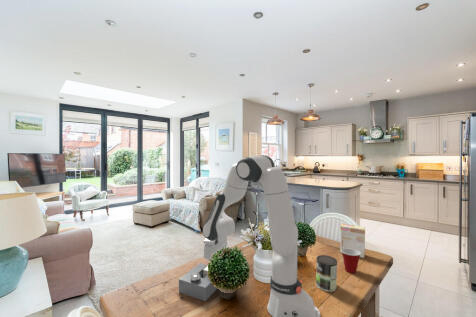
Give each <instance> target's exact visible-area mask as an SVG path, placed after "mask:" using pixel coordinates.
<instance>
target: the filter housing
mask: <svg viewBox="0 0 476 317" xmlns="http://www.w3.org/2000/svg"><path fill="white" fill-rule="evenodd" d="M207 266H208V265H207V264H204V263H201V262H199V263H198V264H197V265H196V266H194V267H193V268H191V269H190V270H189V271H188V272H187V273H185V274H183V276H181V277H180V278H178V292H179V293H181V294H183V295H186V296H188V297H191V298H195V299H197V300H200V301H202V300H203V302H206V301H207V300H208V299H209V298H210V297H211V296H212V295H213V294H214V293H215V292H216V291H217V289H216V287H214V286H213V285H212V283H211V281H210V280H209V278H208V275H207V276H206V277H205V278H203V269H204V268H206V267H207ZM193 273H199V274H200V281H198V282H197V283H194V282H191V274H193Z"/></svg>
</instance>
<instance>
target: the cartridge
mask: <svg viewBox="0 0 476 317" xmlns="http://www.w3.org/2000/svg"><path fill="white" fill-rule="evenodd" d="M207 273H208V265H207V267H206V268H204V269H203V278H205V277H206V276H207Z"/></svg>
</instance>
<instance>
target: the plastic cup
mask: <svg viewBox="0 0 476 317" xmlns="http://www.w3.org/2000/svg"><path fill="white" fill-rule="evenodd" d="M341 252H342V253H341V254H342V260H343V265H344V270H345V271H346V272H347V273H349V274H356V272H357V271H358V270H357V269H358V266H359V261H360V254H361V252H359V251H357V250H354V249H348V248H345V249H341Z"/></svg>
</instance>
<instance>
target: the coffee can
mask: <svg viewBox="0 0 476 317" xmlns="http://www.w3.org/2000/svg"><path fill="white" fill-rule="evenodd" d="M337 272H338V260H337V259H336V258H335V257H334V256H330V255H326V254H325V255H324V254H321V255H320V254H319V255H317V256H316V273H315V274H316V275H315V276H316V277H315V278H316V279H315V286H316V287H317V288H319V290H321V291H324V292H328V293H330V292H335V291H336V290H337V283H338V282H337V281H338V280H337V278H338V277H337V275H338V273H337Z"/></svg>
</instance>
